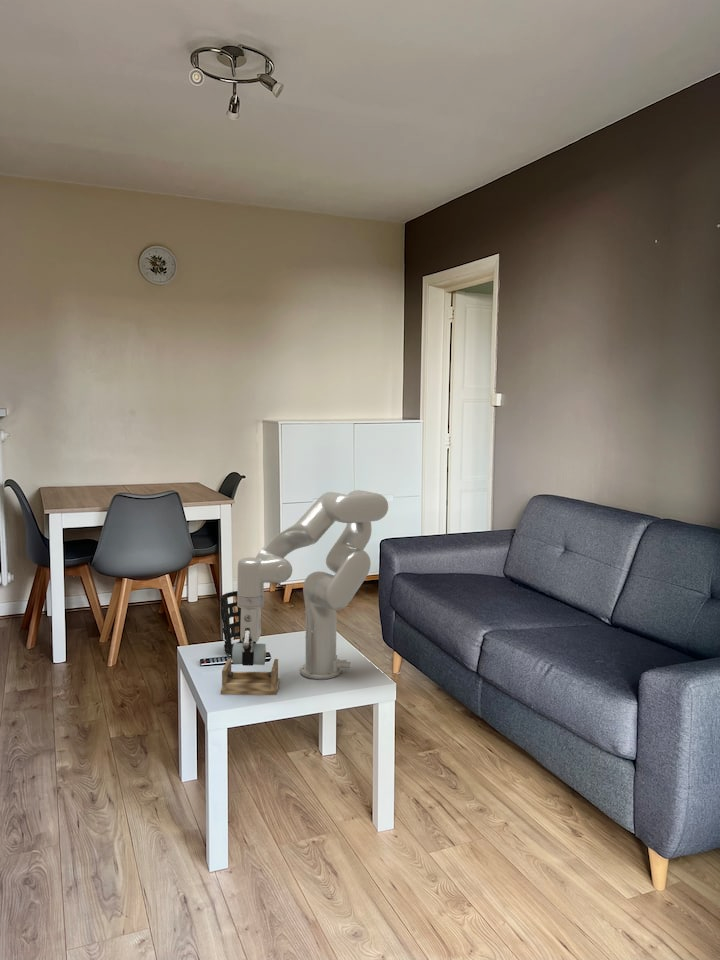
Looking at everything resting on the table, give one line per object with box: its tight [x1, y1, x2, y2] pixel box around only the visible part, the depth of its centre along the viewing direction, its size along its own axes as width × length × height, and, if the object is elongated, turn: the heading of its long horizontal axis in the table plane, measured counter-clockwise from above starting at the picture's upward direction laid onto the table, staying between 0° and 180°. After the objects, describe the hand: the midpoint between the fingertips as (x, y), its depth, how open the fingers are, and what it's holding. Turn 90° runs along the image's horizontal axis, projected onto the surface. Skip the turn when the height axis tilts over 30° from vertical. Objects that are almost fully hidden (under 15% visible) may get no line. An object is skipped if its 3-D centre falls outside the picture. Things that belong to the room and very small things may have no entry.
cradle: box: [219, 658, 281, 696], centre depth 212 cm, size 16×10×7 cm, turn 91°
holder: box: [219, 590, 243, 657], centre depth 242 cm, size 11×8×20 cm
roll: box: [231, 642, 267, 666], centre depth 211 cm, size 10×6×6 cm, turn 91°
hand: (249, 660), depth 211 cm, fingers closed on roll, 5 cm apart
